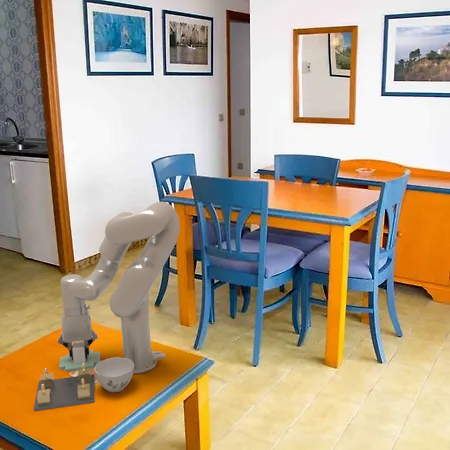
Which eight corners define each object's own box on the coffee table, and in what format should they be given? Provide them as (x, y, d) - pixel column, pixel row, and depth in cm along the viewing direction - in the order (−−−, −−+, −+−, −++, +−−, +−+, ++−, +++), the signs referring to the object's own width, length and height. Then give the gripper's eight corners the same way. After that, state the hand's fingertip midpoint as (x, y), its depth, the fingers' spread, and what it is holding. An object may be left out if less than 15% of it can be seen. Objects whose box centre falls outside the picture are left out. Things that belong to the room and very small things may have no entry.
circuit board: (100, 351, 208) (98, 335, 206) (100, 367, 197) (98, 350, 195) (61, 356, 205) (59, 340, 204) (58, 372, 194) (56, 355, 192)
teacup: (134, 396, 178) (132, 374, 176) (94, 400, 177) (92, 377, 174) (136, 372, 192) (134, 351, 190) (99, 375, 191) (97, 354, 189)
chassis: (94, 376, 191) (92, 357, 189) (94, 402, 175) (92, 382, 174) (39, 384, 187) (36, 365, 185) (34, 410, 172) (31, 390, 170)
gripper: (99, 303, 201) (103, 349, 206) (50, 308, 198) (56, 355, 202) (99, 311, 194) (103, 359, 199) (48, 316, 191) (54, 365, 195)
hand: (79, 357), depth 200 cm, fingers closed on circuit board, 4 cm apart
